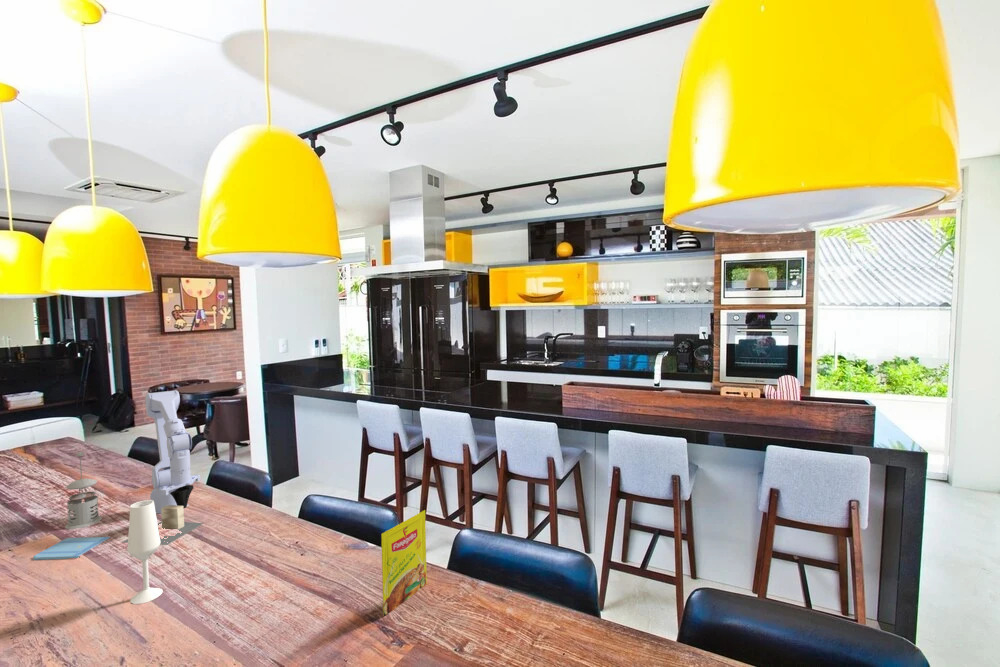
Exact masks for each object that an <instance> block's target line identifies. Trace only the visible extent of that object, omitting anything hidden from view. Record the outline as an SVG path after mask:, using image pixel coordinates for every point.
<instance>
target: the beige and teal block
mask: <svg viewBox="0 0 1000 667" xmlns="http://www.w3.org/2000/svg"><path fill="white" fill-rule="evenodd" d="M184 510H185V508H183V506H176V505H167V506H165V507H163V508H161V513H162V514H161V521H162V528H163V529H164V528H165V529H180V528H182V527H184V522H185V515H184V514H185V513H184V512H185V511H184Z"/></svg>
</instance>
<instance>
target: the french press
mask: <svg viewBox="0 0 1000 667" xmlns="http://www.w3.org/2000/svg"><path fill="white" fill-rule="evenodd" d="M82 456H84V452H82V451H78V452H77V453H76V457H79V463H80V464H79V467H80V468H79V469H80V479H76V480H74V481H72V482H70V483H69V484H68V485H66V486H65V488H66V489H68V490H78V491H79V492H78V493H75V494H72V495H70V496H69V497H68V500H69V501H68V502H67V505H66V506H67V520H68V521H67V522H68V523H66V525H65V526H64V528H65V529H67V530H77V529H76V528H78V529H83V528H82V527H84V528H87V527H89V526H90V525H91V526H93V525H95V523H96V524H98V523H100V522H101V521H102V520H103V517H101V516H100V514H99V505H98V504H99V502H98V501H99V499H98V495H96V494H97V492H96V491H87V488H89V487H93V486H95V485H96V484H97V483H98V480H96V479H93V478H83V476H82V475H83V474H82ZM83 490H85V492H84V491H83ZM82 500H84V502H82ZM101 519H102V520H101ZM100 520H101V521H100ZM99 521H100V522H99ZM97 522H98V523H97ZM86 526H87V527H86ZM91 526H90V527H91Z"/></svg>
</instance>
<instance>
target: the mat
mask: <svg viewBox="0 0 1000 667" xmlns="http://www.w3.org/2000/svg"><path fill="white" fill-rule="evenodd" d="M157 523H158V525H159V524H161V523H162V520H161V521H159V522H157ZM203 524H205V523H204V522H191V521H190V522H187V521H184V527H182V528H180V529H178V530H179V531H181V532H182V533H181V534H180V533H177V534H176V535H175V536H169V537H168V538H167V536H164V538H167V539H164V538H163V539H161V538H160V541H161V543H160V546H168V545H170V544H171V543H173V542H175V541H176V540H178V539H180V538H181V537H184V536H185V535H186V534H188V533H189V532H192V531H193V530H195V529H197V528H198V527H200V526H201V525H203ZM164 541H165V542H164ZM167 542H168V543H167ZM122 543H127V544H128V538H127V539H125V540H123V541H122Z"/></svg>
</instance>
